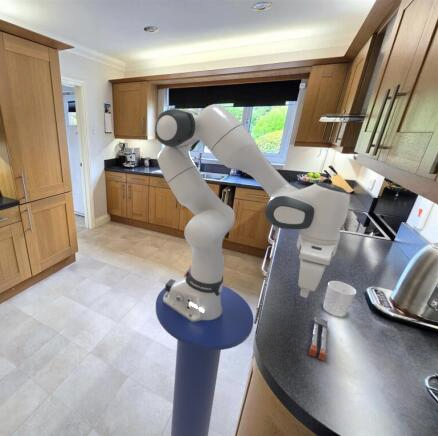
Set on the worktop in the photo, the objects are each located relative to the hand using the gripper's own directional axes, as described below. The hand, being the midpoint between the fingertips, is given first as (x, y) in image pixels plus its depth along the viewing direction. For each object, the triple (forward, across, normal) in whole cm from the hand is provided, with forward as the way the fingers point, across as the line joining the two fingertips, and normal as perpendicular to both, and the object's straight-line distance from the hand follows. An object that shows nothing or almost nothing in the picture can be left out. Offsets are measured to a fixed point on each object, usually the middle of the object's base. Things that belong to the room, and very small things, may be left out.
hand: (304, 287), depth 70 cm
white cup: (+19, -23, +11) cm, 32 cm away
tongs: (+19, -4, +7) cm, 20 cm away
